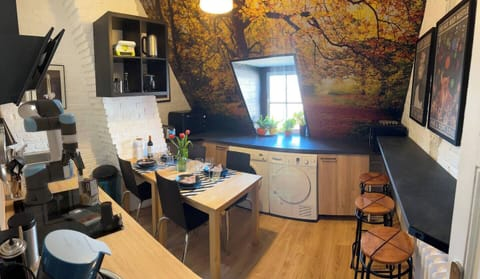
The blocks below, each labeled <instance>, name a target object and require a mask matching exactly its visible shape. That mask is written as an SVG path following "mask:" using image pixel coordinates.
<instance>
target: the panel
mask: <svg viewBox="0 0 480 279" xmlns="http://www.w3.org/2000/svg"><path fill="white" fill-rule="evenodd" d="M79 209H80V210H83V211H84V213H85V216H84V217H81V218H79V219H73V218H70V217H69V213H66V214H65V213H64V214H61V217H65V218H67V219H70V220H72V221H76V222H78V223H80V224H83V225H84V227H88V226H90V225H92V224H95V223H97V222H100V221H99V220H100V219H101V213H98V212H94V211H93V213H92V211H91V210H89V209H85V208H82V207H81V208H79Z"/></svg>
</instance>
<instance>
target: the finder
mask: <svg viewBox="0 0 480 279" xmlns="http://www.w3.org/2000/svg"><path fill="white" fill-rule="evenodd" d="M80 209H81V208H76V209H73V210H71V211H68V214H69V216H68V217H69V218H70V219H71V218H72V220H73V219H74V220H75V219H76V220H79V218H83V217H84V216H86V213H85V212H84V210H80ZM84 218H85V217H84Z"/></svg>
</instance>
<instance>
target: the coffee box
mask: <svg viewBox="0 0 480 279" xmlns="http://www.w3.org/2000/svg"><path fill="white" fill-rule="evenodd" d="M83 179H84V181H80V182H78V181H77V184H78V192H79V201H80V205H83V206H91V207H92V206H95V205H97V204H99V203H101V202H100V193H99V183H98V178H93V177H92V178H90V177H83Z"/></svg>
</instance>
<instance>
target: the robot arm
mask: <svg viewBox="0 0 480 279" xmlns="http://www.w3.org/2000/svg"><path fill="white" fill-rule="evenodd" d="M17 114H18V116H19V117H20V118H21V119H23V122H22V123H23V129H24V131H25V132H26V133H38V132H46V137H47V138H46V139H47V144H48V148H49V149H48V150H49V156H50V160H49V161H48V164H46V163H44V162H43V163H42V162H40V163H34V164H31V165H29V166H27V167H25V168H24V169H23V177H24V183H25V189H26V191H25V196H24V205H26V206H39V205H42V204H46V203H49V202H50V201H52V200H54V196H53V195H54V194H53V193H52V191H51V190H50V188H49V184H50V183H52V184H53V183H58V182H62V181H66V180H70V179H72V178H73V175H74V165H75V167H76V175H77V183H78V182H80V181H84V171H83V170H84V169H86V166H85V163H84V160H83V158H82V156H81V152H80V151H77V149H79V142H78V133H77V122H76V121H77V120H76V117H75V116H76V114H74V113H65V110H64V107H63V103H61V100H60V99H53V98H51V99H49V98H48V99H32V100H31V99H29V100H27V101H25V102H23V103H21V104H20V105H19V106H18V108H17ZM72 161H73V162H72ZM73 163H74V164H73Z"/></svg>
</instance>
